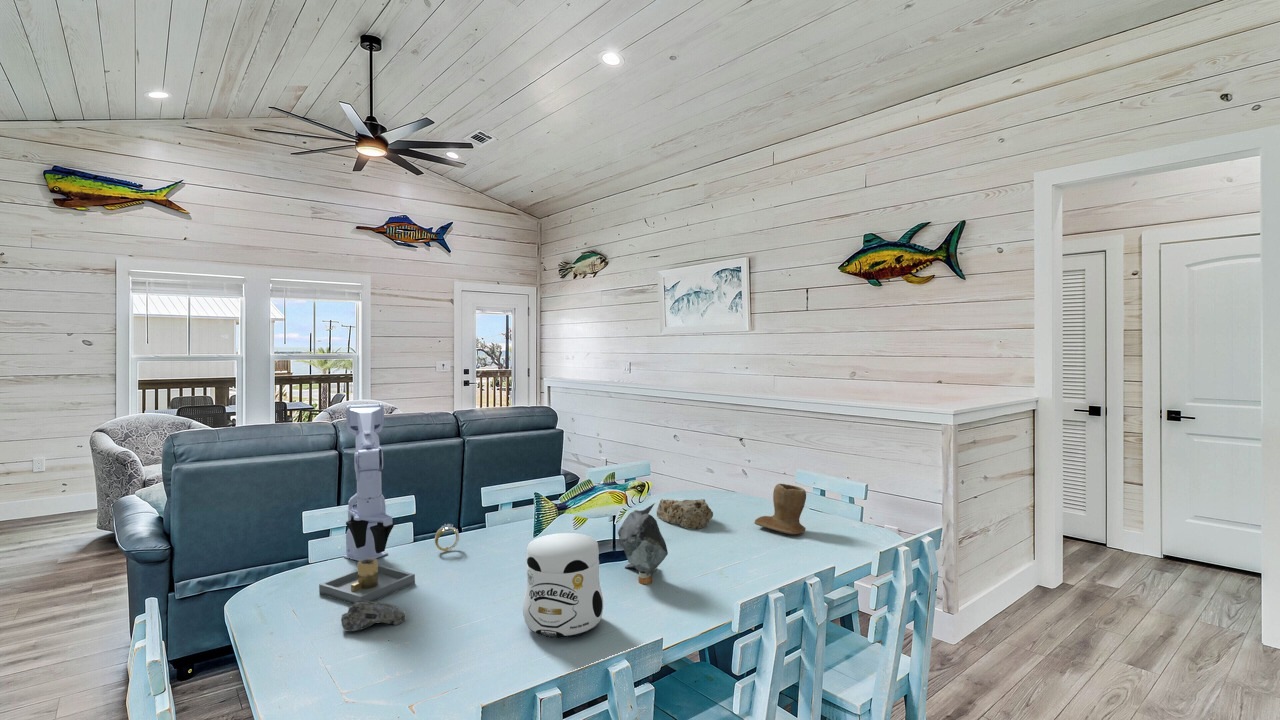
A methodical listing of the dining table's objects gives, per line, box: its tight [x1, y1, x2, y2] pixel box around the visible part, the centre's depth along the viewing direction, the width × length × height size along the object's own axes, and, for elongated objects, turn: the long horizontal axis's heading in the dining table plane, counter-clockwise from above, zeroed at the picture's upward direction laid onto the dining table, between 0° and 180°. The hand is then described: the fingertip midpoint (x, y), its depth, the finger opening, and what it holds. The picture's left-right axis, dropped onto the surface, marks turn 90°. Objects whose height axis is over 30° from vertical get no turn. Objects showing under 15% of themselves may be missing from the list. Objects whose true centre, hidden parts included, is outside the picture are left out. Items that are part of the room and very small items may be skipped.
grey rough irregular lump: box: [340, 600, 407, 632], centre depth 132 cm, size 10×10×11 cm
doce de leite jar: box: [522, 532, 604, 639], centre depth 131 cm, size 17×17×18 cm
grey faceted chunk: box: [617, 502, 669, 585], centre depth 157 cm, size 14×15×18 cm
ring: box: [434, 523, 460, 552], centre depth 178 cm, size 7×3×8 cm, turn 121°
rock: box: [656, 499, 714, 530], centre depth 207 cm, size 20×14×10 cm
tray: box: [318, 564, 416, 605], centre depth 152 cm, size 16×16×2 cm
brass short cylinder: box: [351, 558, 379, 592], centre depth 151 cm, size 7×5×6 cm
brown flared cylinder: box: [753, 483, 807, 535], centre depth 197 cm, size 15×12×15 cm
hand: (370, 549), depth 153 cm, fingers open, 7 cm apart
